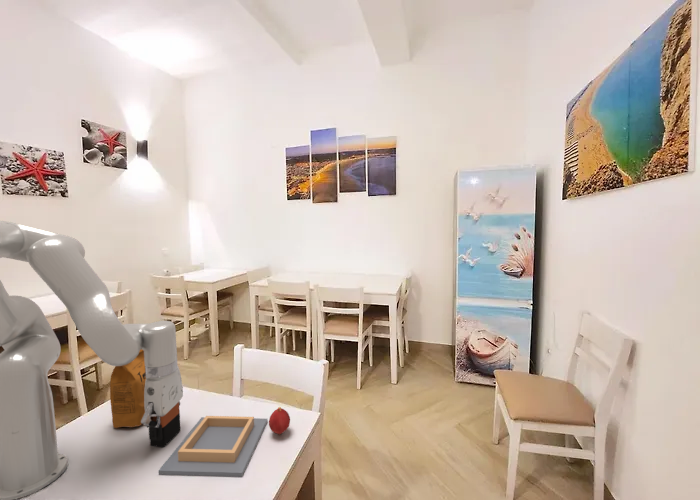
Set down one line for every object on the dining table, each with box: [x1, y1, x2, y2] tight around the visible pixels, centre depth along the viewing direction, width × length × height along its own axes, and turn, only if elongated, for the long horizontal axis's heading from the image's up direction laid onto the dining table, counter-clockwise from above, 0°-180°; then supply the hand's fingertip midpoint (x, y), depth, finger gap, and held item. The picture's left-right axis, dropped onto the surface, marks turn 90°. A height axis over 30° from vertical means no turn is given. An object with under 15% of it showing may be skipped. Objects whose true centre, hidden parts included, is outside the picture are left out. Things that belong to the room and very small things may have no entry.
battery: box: [149, 402, 181, 448], centre depth 85 cm, size 4×7×10 cm, turn 172°
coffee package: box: [109, 349, 146, 429], centre depth 94 cm, size 10×12×22 cm
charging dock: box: [158, 415, 269, 478], centre depth 83 cm, size 20×20×4 cm
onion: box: [268, 406, 291, 436], centre depth 87 cm, size 6×6×8 cm
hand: (165, 429), depth 85 cm, fingers closed on battery, 7 cm apart
